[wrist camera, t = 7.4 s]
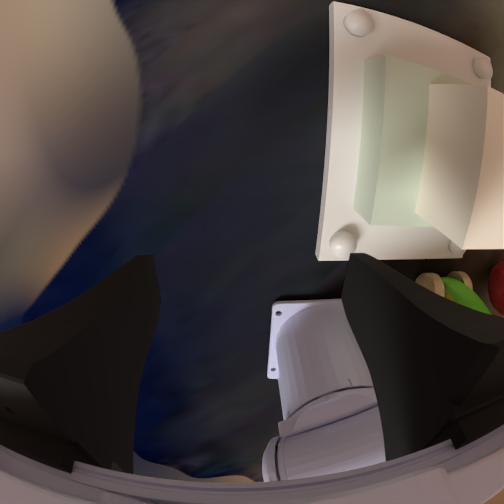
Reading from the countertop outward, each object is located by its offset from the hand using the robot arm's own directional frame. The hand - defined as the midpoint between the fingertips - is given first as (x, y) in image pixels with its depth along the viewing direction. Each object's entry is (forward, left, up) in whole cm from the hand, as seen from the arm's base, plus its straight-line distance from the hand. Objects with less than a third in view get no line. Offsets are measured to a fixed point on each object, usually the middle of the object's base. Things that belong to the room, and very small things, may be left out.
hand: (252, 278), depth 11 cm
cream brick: (+5, -12, -6) cm, 14 cm away
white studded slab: (+5, -12, -10) cm, 16 cm away
